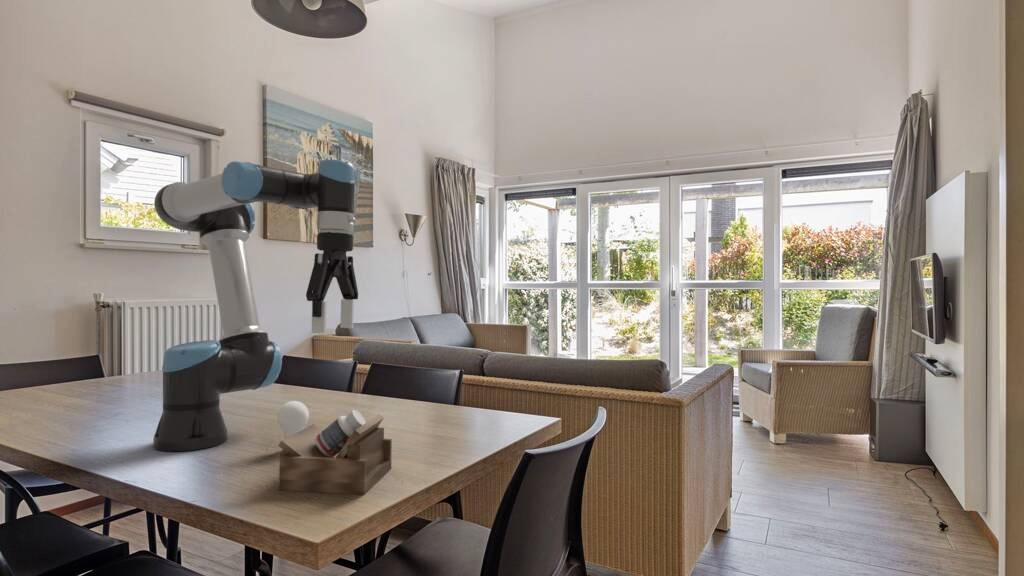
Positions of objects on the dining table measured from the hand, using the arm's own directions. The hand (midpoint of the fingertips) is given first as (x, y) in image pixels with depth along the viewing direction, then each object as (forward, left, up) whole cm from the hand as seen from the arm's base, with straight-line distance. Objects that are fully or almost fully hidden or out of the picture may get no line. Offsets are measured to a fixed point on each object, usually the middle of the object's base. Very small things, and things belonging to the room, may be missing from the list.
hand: (333, 330), depth 125 cm
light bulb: (-11, +3, -28) cm, 30 cm away
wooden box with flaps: (+7, -14, -27) cm, 31 cm away
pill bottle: (+4, -14, -22) cm, 26 cm away
